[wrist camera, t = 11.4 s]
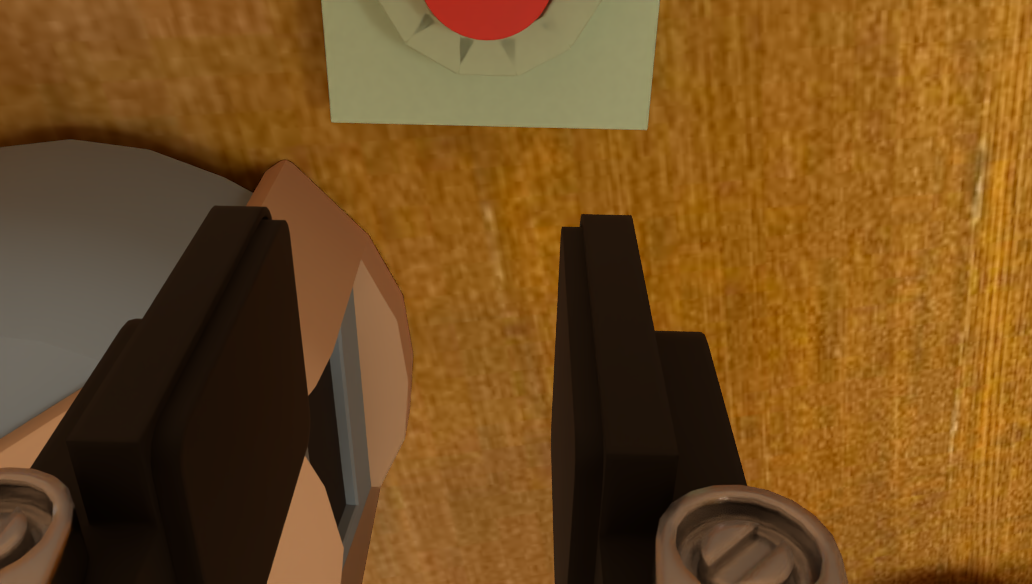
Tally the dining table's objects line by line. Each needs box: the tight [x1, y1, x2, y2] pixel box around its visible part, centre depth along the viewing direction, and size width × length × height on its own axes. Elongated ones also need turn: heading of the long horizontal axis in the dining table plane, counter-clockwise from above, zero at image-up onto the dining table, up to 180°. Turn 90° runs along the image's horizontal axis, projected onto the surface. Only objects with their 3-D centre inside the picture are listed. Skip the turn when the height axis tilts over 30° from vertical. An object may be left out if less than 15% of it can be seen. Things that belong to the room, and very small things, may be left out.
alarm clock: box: [0, 139, 413, 584], centre depth 33 cm, size 19×20×12 cm
